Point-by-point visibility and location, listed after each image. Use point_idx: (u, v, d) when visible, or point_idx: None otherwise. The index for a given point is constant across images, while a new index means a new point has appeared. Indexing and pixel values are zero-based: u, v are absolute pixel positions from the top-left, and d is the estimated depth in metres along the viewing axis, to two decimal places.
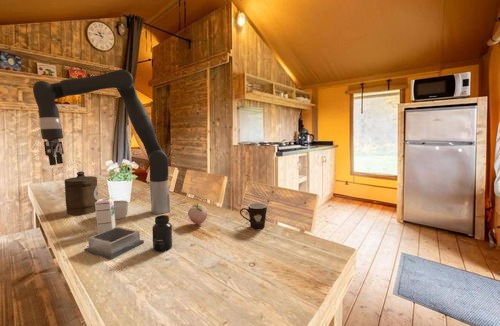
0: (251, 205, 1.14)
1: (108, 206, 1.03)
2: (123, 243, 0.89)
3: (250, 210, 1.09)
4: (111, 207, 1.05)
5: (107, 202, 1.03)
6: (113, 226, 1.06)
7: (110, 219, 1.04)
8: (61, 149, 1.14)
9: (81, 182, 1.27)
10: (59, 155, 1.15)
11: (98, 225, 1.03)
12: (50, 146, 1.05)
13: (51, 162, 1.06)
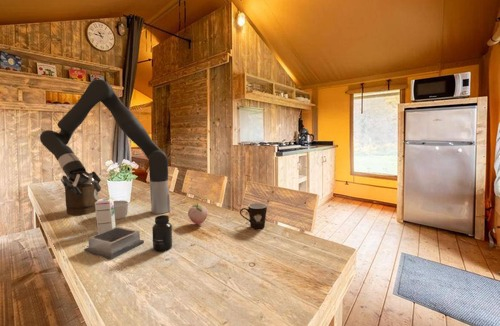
0: (251, 205, 1.14)
1: (108, 206, 1.03)
2: (123, 243, 0.89)
3: (250, 210, 1.09)
4: (111, 207, 1.05)
5: (107, 202, 1.03)
6: (113, 226, 1.06)
7: (110, 219, 1.04)
8: (90, 177, 1.12)
9: None
10: (94, 184, 1.13)
11: (98, 225, 1.03)
12: (64, 180, 1.03)
13: (75, 193, 1.04)
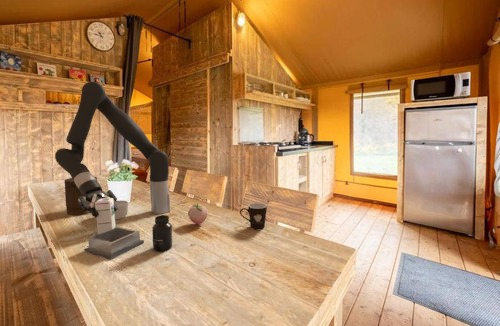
0: (251, 205, 1.14)
1: (108, 206, 1.03)
2: (123, 243, 0.89)
3: (250, 210, 1.09)
4: (111, 207, 1.05)
5: (107, 202, 1.03)
6: (113, 226, 1.06)
7: (110, 219, 1.04)
8: (107, 197, 1.08)
9: None
10: None
11: (98, 225, 1.03)
12: (81, 201, 1.00)
13: (93, 214, 1.01)
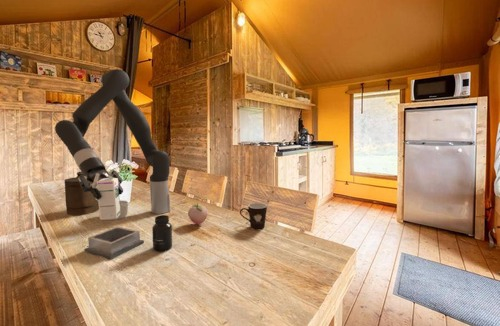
0: (251, 205, 1.14)
1: (112, 186, 0.89)
2: (123, 243, 0.89)
3: (250, 210, 1.09)
4: (115, 188, 0.91)
5: (111, 182, 0.89)
6: (117, 210, 0.92)
7: (114, 201, 0.90)
8: (111, 177, 0.95)
9: None
10: None
11: (100, 208, 0.89)
12: (81, 180, 0.86)
13: (95, 196, 0.87)
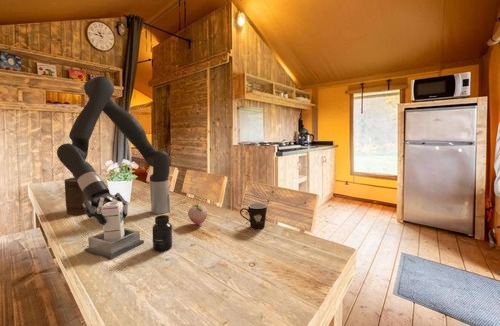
0: (251, 205, 1.14)
1: (116, 211, 0.89)
2: (123, 243, 0.89)
3: (250, 210, 1.09)
4: (120, 212, 0.90)
5: (116, 207, 0.88)
6: (122, 234, 0.92)
7: (119, 226, 0.90)
8: None
9: None
10: None
11: (105, 233, 0.88)
12: (86, 206, 0.86)
13: (100, 222, 0.86)
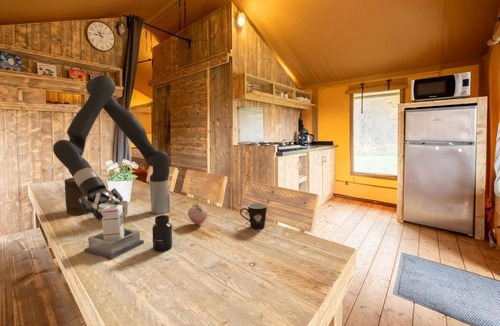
0: (251, 205, 1.14)
1: (116, 214, 0.89)
2: (123, 243, 0.89)
3: (250, 210, 1.09)
4: (120, 215, 0.91)
5: (115, 210, 0.89)
6: None
7: (118, 229, 0.90)
8: (112, 196, 0.95)
9: None
10: (116, 203, 0.96)
11: (105, 236, 0.89)
12: (82, 201, 0.86)
13: (96, 217, 0.87)
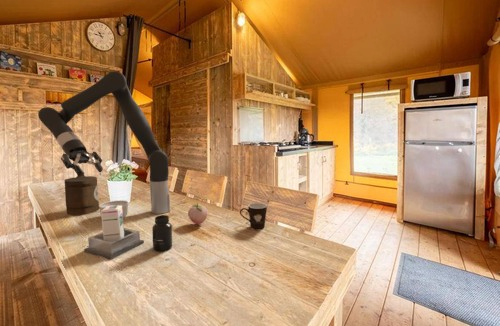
0: (251, 205, 1.14)
1: (116, 215, 0.89)
2: (123, 243, 0.89)
3: (250, 210, 1.09)
4: (119, 216, 0.90)
5: (115, 211, 0.88)
6: None
7: (118, 230, 0.90)
8: (92, 157, 1.07)
9: (81, 182, 1.27)
10: (96, 164, 1.08)
11: (104, 237, 0.89)
12: (64, 158, 0.98)
13: (77, 172, 0.99)
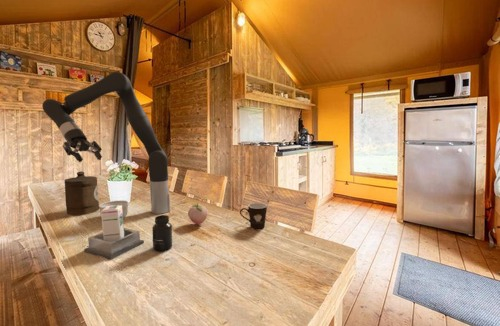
0: (251, 205, 1.14)
1: (116, 215, 0.89)
2: (123, 243, 0.89)
3: (250, 210, 1.09)
4: (119, 216, 0.90)
5: (115, 211, 0.88)
6: None
7: (118, 230, 0.90)
8: (91, 146, 1.14)
9: (81, 182, 1.27)
10: (95, 152, 1.15)
11: (104, 237, 0.89)
12: (66, 146, 1.05)
13: (77, 159, 1.06)
